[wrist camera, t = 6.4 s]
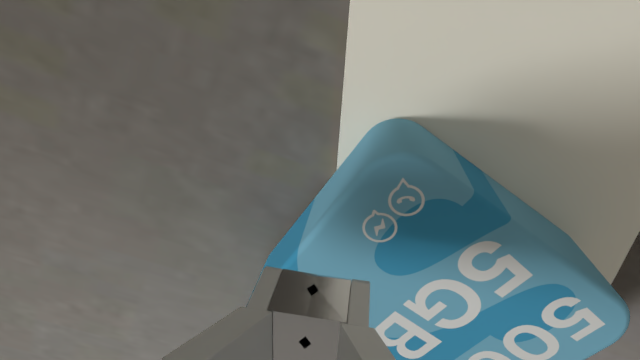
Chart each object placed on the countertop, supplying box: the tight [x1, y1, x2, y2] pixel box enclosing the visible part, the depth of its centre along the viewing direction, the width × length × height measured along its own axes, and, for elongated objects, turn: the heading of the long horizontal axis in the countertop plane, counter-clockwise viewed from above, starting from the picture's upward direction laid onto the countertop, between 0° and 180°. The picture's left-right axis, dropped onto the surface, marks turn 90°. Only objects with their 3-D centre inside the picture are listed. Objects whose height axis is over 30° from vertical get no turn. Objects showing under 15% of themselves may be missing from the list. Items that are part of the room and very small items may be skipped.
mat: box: [337, 0, 640, 285], centre depth 17 cm, size 14×26×1 cm, turn 177°
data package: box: [248, 118, 630, 360], centre depth 17 cm, size 12×4×12 cm
